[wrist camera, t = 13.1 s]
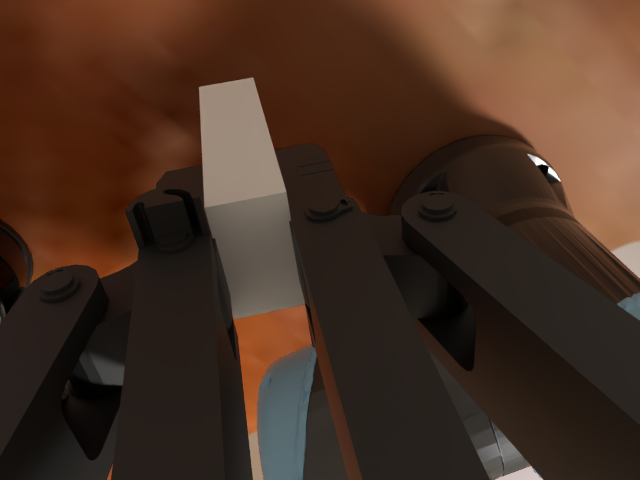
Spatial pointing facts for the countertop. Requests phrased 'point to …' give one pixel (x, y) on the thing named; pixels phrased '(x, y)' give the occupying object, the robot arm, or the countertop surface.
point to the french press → (14, 267)
